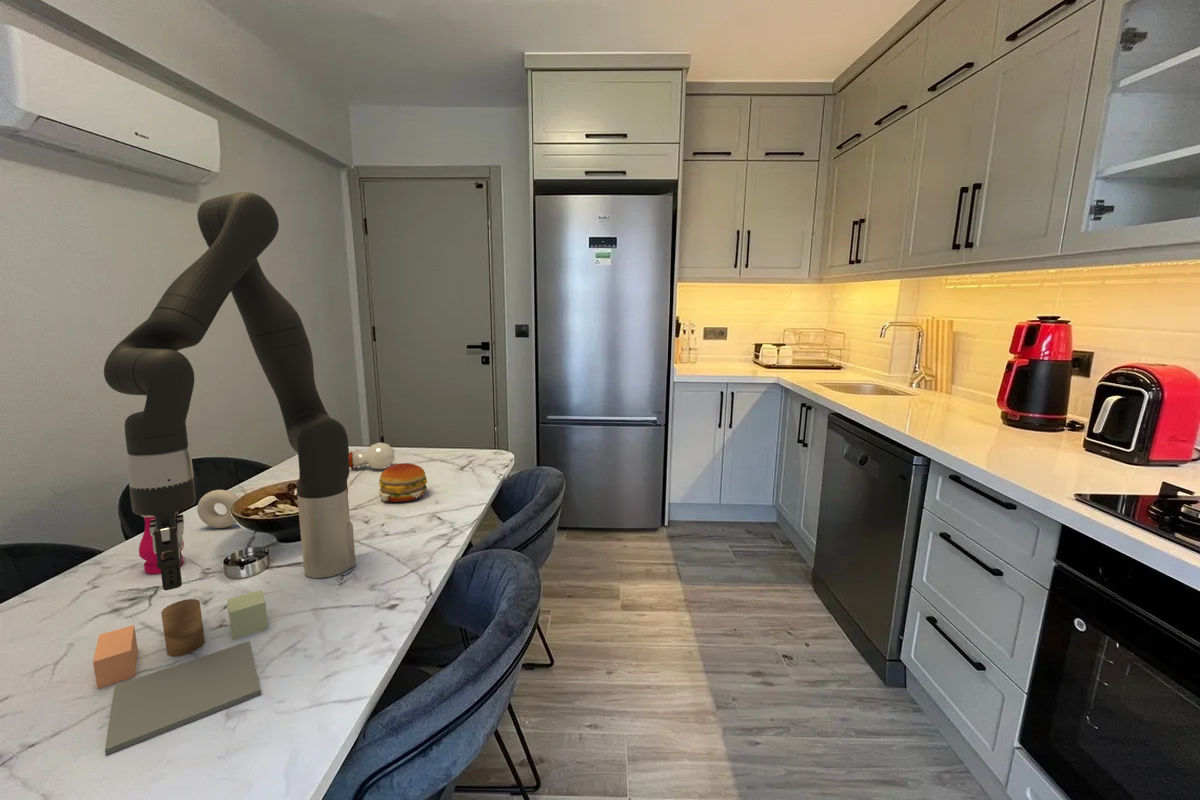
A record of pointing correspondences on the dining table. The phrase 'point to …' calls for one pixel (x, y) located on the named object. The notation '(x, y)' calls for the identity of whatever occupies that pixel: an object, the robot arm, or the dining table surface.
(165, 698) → the slate mat
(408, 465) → the burger
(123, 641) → the terracotta brick
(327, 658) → the dining table surface
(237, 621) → the sage cube
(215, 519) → the donut
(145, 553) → the pepper mill
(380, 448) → the potion bottle
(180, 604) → the walnut cylinder
